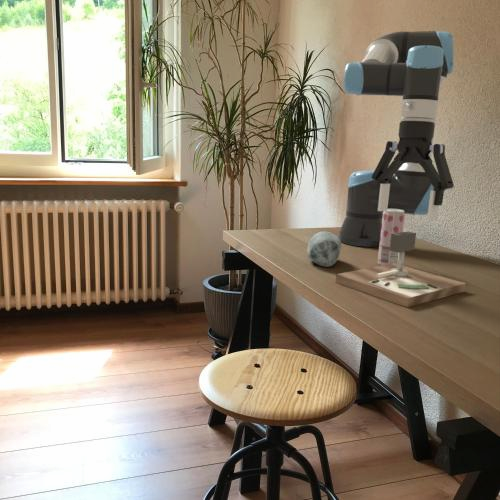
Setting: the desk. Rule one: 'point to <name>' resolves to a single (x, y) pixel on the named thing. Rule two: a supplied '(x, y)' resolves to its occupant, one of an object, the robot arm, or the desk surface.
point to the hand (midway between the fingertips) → (406, 215)
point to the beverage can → (389, 235)
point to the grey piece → (400, 252)
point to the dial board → (401, 285)
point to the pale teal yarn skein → (324, 248)
